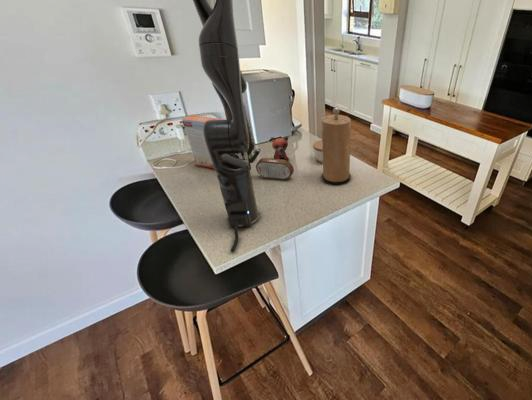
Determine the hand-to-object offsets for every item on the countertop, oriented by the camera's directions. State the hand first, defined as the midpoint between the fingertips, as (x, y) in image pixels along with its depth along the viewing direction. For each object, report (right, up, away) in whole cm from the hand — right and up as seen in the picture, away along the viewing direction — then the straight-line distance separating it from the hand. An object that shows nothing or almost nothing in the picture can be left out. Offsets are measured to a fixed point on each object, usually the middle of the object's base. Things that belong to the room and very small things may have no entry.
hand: (247, 171), depth 113 cm
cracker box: (-18, +3, +9) cm, 21 cm away
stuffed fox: (+9, +7, +17) cm, 20 cm away
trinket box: (+29, +7, +19) cm, 35 cm away
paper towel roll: (+36, -2, +5) cm, 36 cm away
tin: (+11, -3, +3) cm, 11 cm away
